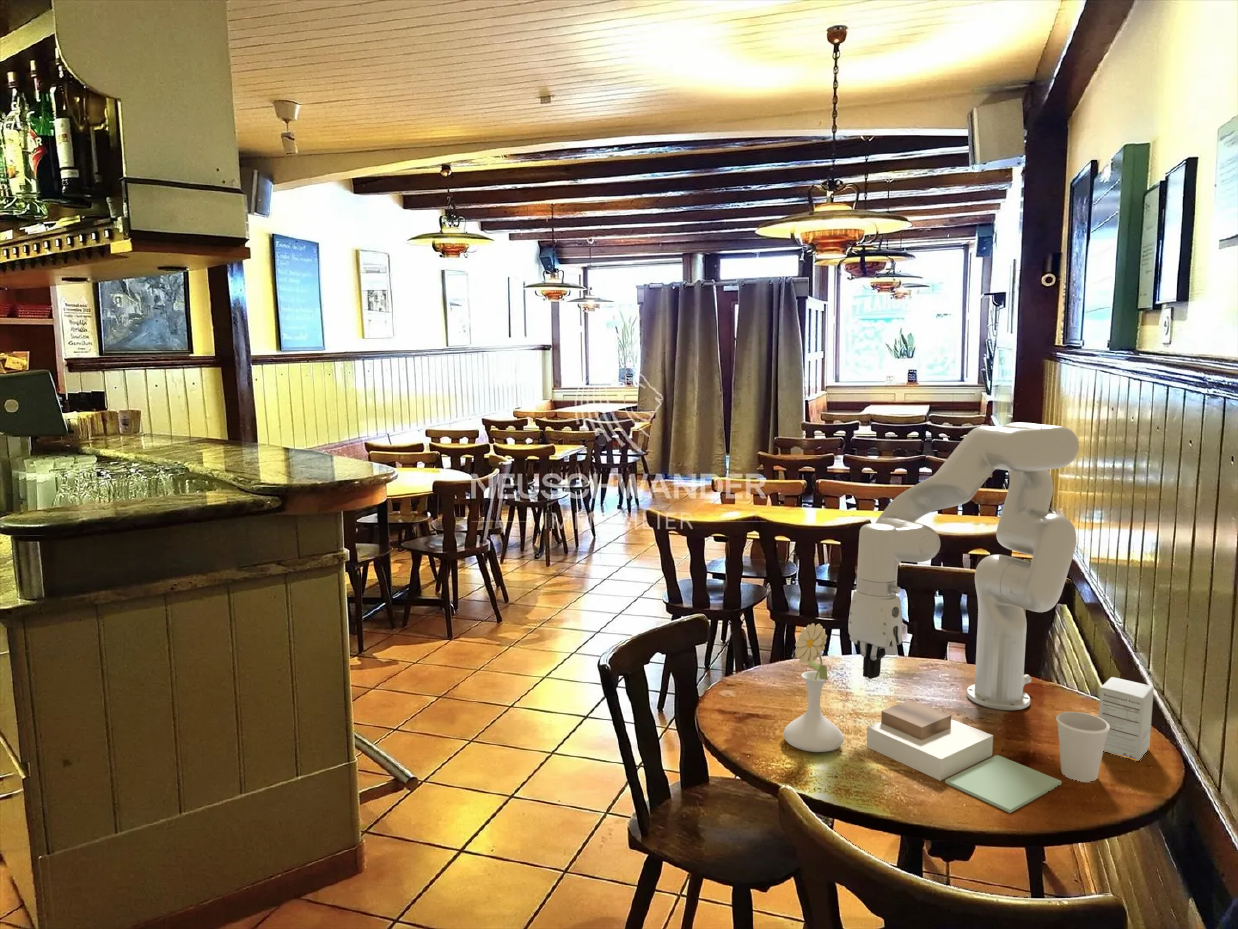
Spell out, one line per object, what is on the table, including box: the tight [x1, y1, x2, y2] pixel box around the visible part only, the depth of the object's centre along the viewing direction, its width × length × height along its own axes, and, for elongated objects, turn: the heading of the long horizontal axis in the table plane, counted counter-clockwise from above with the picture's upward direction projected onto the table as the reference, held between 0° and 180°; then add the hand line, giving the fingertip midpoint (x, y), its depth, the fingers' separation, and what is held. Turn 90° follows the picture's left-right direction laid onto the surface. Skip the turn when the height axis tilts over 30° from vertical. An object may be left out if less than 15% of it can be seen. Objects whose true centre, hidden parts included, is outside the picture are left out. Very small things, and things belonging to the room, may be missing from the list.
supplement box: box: [1097, 676, 1155, 761], centre depth 159 cm, size 7×7×13 cm
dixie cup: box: [1055, 711, 1110, 783], centre depth 150 cm, size 8×8×10 cm
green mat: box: [944, 754, 1062, 814], centre depth 148 cm, size 16×12×1 cm
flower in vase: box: [782, 623, 845, 753], centre depth 161 cm, size 13×11×25 cm
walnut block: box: [880, 699, 952, 740], centre depth 162 cm, size 9×9×2 cm
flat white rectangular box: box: [866, 718, 994, 782], centre depth 160 cm, size 16×16×4 cm
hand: (871, 676), depth 169 cm, fingers closed
